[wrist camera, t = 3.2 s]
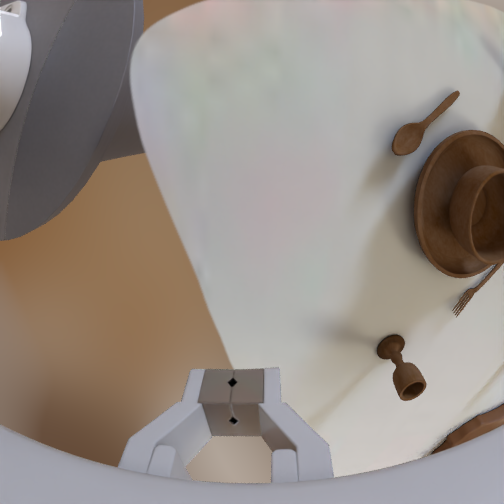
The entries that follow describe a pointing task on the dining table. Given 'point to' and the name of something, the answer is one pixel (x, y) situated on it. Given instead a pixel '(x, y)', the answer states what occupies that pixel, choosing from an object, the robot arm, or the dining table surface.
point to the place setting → (452, 218)
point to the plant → (474, 428)
